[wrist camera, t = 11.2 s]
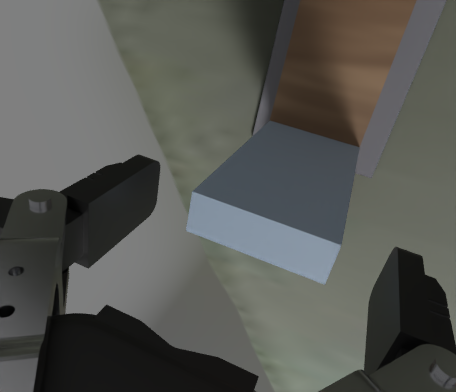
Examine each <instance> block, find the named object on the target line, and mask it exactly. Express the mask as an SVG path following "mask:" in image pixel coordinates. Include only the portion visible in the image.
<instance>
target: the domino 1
mask: <svg viewBox="0 0 456 392" xmlns="http://www.w3.org/2000/svg"><path fill="white" fill-rule="evenodd" d="M416 1H417V0H300V3H299V7H298V11H297V15H296V19H295V23H294V27H293V31H292V35H291V39H290V43H289V46H288V50H287V54H286V58H285V62H284V66H283V70H282V74H281V78H280V82H279V86H278V90H277V94H276V98H275V102H274V106H273V109H272V113H271V117H270V121H273V122H277V123H280V124H283V125H287V126H290V127H293V128H297V129H300V130H303V131H307V132H310V133H313V134H317V135H320V136H323V137H327V138H330V139H333V140H337V141H340V142H343V143H347V144H350V145H353V146H357V147H360V145H361V142H362V140H363V137H364V135H365V132H366V130H367V127H368V124H369V122H370V119H371V117H372V114H373V111H374V109H375V106H376V104H377V101H378V99H379V96H380V93H381V91H382V88H383V86H384V83H385V81H386V78H387V75H388V73H389V70H390V68H391V65H392V63H393V60H394V57H395V55H396V52H397V50H398V47H399V45H400V42H401V39H402V37H403V34H404V32H405V29H406V27H407V24H408V21H409V19H410V16H411V14H412V11H413V9H414V6H415V3H416Z"/></svg>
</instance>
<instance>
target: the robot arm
mask: <svg viewBox="0 0 456 392" xmlns="http://www.w3.org/2000/svg"><path fill="white" fill-rule="evenodd" d="M159 174H160V163H159V162H158V161H155V160H153V159H150V158H147V157H144V156H142V155H136V156H134V157H132V158H131V159H129V160H127V161H125V162H124V163H117V164H113V165H108V166H105V167H104V168H102V169H100V170H98V171H96V173H93V174H91V175H89V176H88V177H87V178H84V179H82V180H80V181H78V182H76V183H74V184H73V185H71V186H69V187H67V188H65V189H64V190H62V191H60V192H57V191H53V190H46V189H38V190H32V191H27V192H24V193H22V194H20V195H18V196H17V197H16V198H15V199H8V198H2V197H0V392H256V391H255V390H254V388H255V385H256V383H257V380H258V376H256V375H255V374H252V373H250V372H248V371H246V370H244V369H242V368H240V367H238V366H236V365H233V364H231V363H229V362H227V361H225V360H223V359H220V358H218V357H214V356H210V355H205V354H200V353H196V352H192V351H187V350H182V349H178V348H175V347H173V346H171V345H169V344H168V343H167V342H166V341H165V340H163V339H162V338H161V337H160V336H159V335H157V334H156V333H155V332H154V331H153V330H151V329H150V328H149V327H148V326H147V325H145V324H144V323H143V322H142V321H140V320H138V319H136V318H134V317H132V316H130V315H127V314H125V313H123V312H121V311H119V310H116V309H115V308H113V307H110V306H108V305H106V306H105V307H104V308H103V309H102V310H101V311H100V312H99V313H98V314H97V315H92V314H80V313H79V314H78V313H75V314H74V313H73V314H65V313H66V303H67V293H68V282H69V266H71V265H72V264H73V263H74V262H75V263H78V264H80V265H82V266H84V267H86V268H89V267H91V266H92V265H93V264H94V263H95V262H97V261H98V260H99V259H100V258H101V257H102V256H104V255H105V254H106V253H107V252H108V251H109V250H111V249H112V248H113V247H114V246H115V245H116V244H117V243H119V242H120V241H121V240H122V239H123V238H125V237H126V236H127V235H128V234H129V233H130V232H132V231H133V230H134V229H135V228H136V227H137V226H139V224H141V223H142V222H143V221H144V220H146V219H147V218H148V217H149V216H150V215H151V213H152V212H153V210H154V208H155V205H156V201H157V193H158V185H159ZM447 307H448V304H447V299H446V294H445V292H444V290H443V289H442V287H441V286H440V284H439V283H438V282H437V280H436V279H435V278H432V277H430V276H427V275H425V272H424V264H423V258H422V256H421V255H418V254H415V253H412V252H409V251H407V250H404V249H401V248H398V247H395V248H394V249H393V250H392V252H391V254H390V256H389V258H388V260H387V262H386V264H385V266H384V268H383V269H382V271H381V273H380V275H379V277H378V279H377V281H376V283H375V285H374V287H373V290H372V293H371V296H370V300H369V307H368V321H367V335H366V349H365V364H364V371H363V370H357V371H355V372H353V373H351V374H349V375H347V376H345V377H344V378H342V379H340V380H338V381H336V382H335V383H333V384H331V385H329V386H328V387H326V388H324V389H322V390H320V391H319V392H456V345H455V340H454V335H453V330H452V325H451V320H450V319H449V318H450V315H449V309H448V308H447Z"/></svg>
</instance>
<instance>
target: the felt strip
mask: <svg viewBox="0 0 456 392" xmlns="http://www.w3.org/2000/svg"><path fill="white" fill-rule="evenodd" d="M446 1H447V0H417V1H416V3H415V6H414V9H413V11H412V14H411V16H410V19H409V21H408V24H407V27H406V29H405V32H404V34H403V37H402V39H401V42H400V45H399V47H398V50H397V52H396V55H395V57H394V60H393V63H392V65H391V68H390V70H389V73H388V75H387V78H386V81H385V83H384V86H383V88H382V91H381V93H380V96H379V99H378V101H377V104H376V106H375V109H374V111H373V114H372V117H371V119H370V122H369V124H368V127H367V130H366V132H365V135H364V137H363V140H362V142H361V145H360V149H359V154H358V159H357V165H356V170H355V173H357V174H360V175H363V176H366V177H369V178H372V176H373V174H374V171H375V169H376V167H377V164H378V162H379V159H380V157H381V155H382V152H383V150H384V148H385V145H386V143H387V140H388V138H389V136H390V133H391V131H392V129H393V126H394V124H395V122H396V119H397V117H398V114H399V112H400V110H401V107H402V105H403V103H404V100H405V98H406V95H407V93H408V91H409V88H410V86H411V84H412V81H413V79H414V77H415V74H416V72H417V69H418V67H419V65H420V62H421V60H422V58H423V55H424V53H425V50H426V48H427V46H428V43H429V41H430V39H431V36H432V34H433V31H434V29H435V27H436V24H437V22H438V20H439V17H440V15H441V13H442V10H443V8H444V5H445V3H446ZM299 3H300V0H284V3H283V8H282V12H281V16H280V21H279V25H278V29H277V33H276V38H275V42H274V46H273V50H272V55H271V59H270V63H269V68H268V72H267V76H266V80H265V85H264V89H263V93H262V97H261V102H260V106H259V110H258V115H257V119H256V123H255V127H254V132H253V136H254V135H255V134H256V133H257V132H258V131H259V130H260V129H261V128H262V127H263V126H264V125H266V124H267V123H268V122H269V121H270V117H271V113H272V109H273V106H274V102H275V98H276V94H277V90H278V86H279V82H280V78H281V74H282V70H283V66H284V62H285V58H286V54H287V50H288V46H289V43H290V39H291V35H292V31H293V27H294V23H295V19H296V15H297V11H298V7H299Z"/></svg>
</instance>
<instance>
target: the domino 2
mask: <svg viewBox="0 0 456 392" xmlns="http://www.w3.org/2000/svg"><path fill="white" fill-rule="evenodd" d="M359 149H360V147H357V146H353V145H350V144H347V143H343V142H340V141H337V140H333V139H330V138H327V137H323V136H320V135H317V134H313V133H310V132H307V131H303V130H300V129H297V128H293V127H290V126H287V125H283V124H280V123H277V122H273V121H269V122H268V123H267V124H266V125H264V126H263V127H262V128H261V129H260V130H259V131H258V132H257V133H256V134H255V135H254V136H252V137H251V138H250V139H249V140H248V141H247V142H246V143H245V144H244V145H243V146H242V147H240V148H239V149H238V150H237V151H236V152H235V153H234V154H233V155H232V156H231V157H230V158H228V159H227V160H226V161H225V162H224V163H223V164H222V165H221V166H220V167H219V168H218V169H216V170H215V171H214V172H213V173H212V174H211V175H210V176H209V177H208V178H207V179H206V180H204V181H203V182H202V183H201V184H200V185H199V186H198V187H197V188H196V189H195V190H194V191H192V198H191V204H190V210H189V216H188V222H187V228H186V231H188V232H191V233H193V234H196V235H199V236H201V237H204V238H206V239H209V240H211V241H214V242H217V243H219V244H222V245H224V246H227V247H229V248H232V249H235V250H237V251H240V252H242V253H245V254H247V255H250V256H253V257H255V258H258V259H260V260H263V261H265V262H268V263H270V264H273V265H276V266H278V267H281V268H283V269H286V270H288V271H291V272H294V273H296V274H299V275H301V276H304V277H306V278H309V279H312V280H314V281H317V282H319V283H322V284H324V285H325V283H326V281H327V278H328V276H329V273H330V271H331V269H332V266H333V264H334V262H335V259H336V257H337V254H338V252H339V250H340V247H341V244H342V239H343V234H344V228H345V223H346V218H347V212H348V207H349V202H350V197H351V191H352V186H353V181H354V175H355V170H356V165H357V159H358V154H359Z"/></svg>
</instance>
